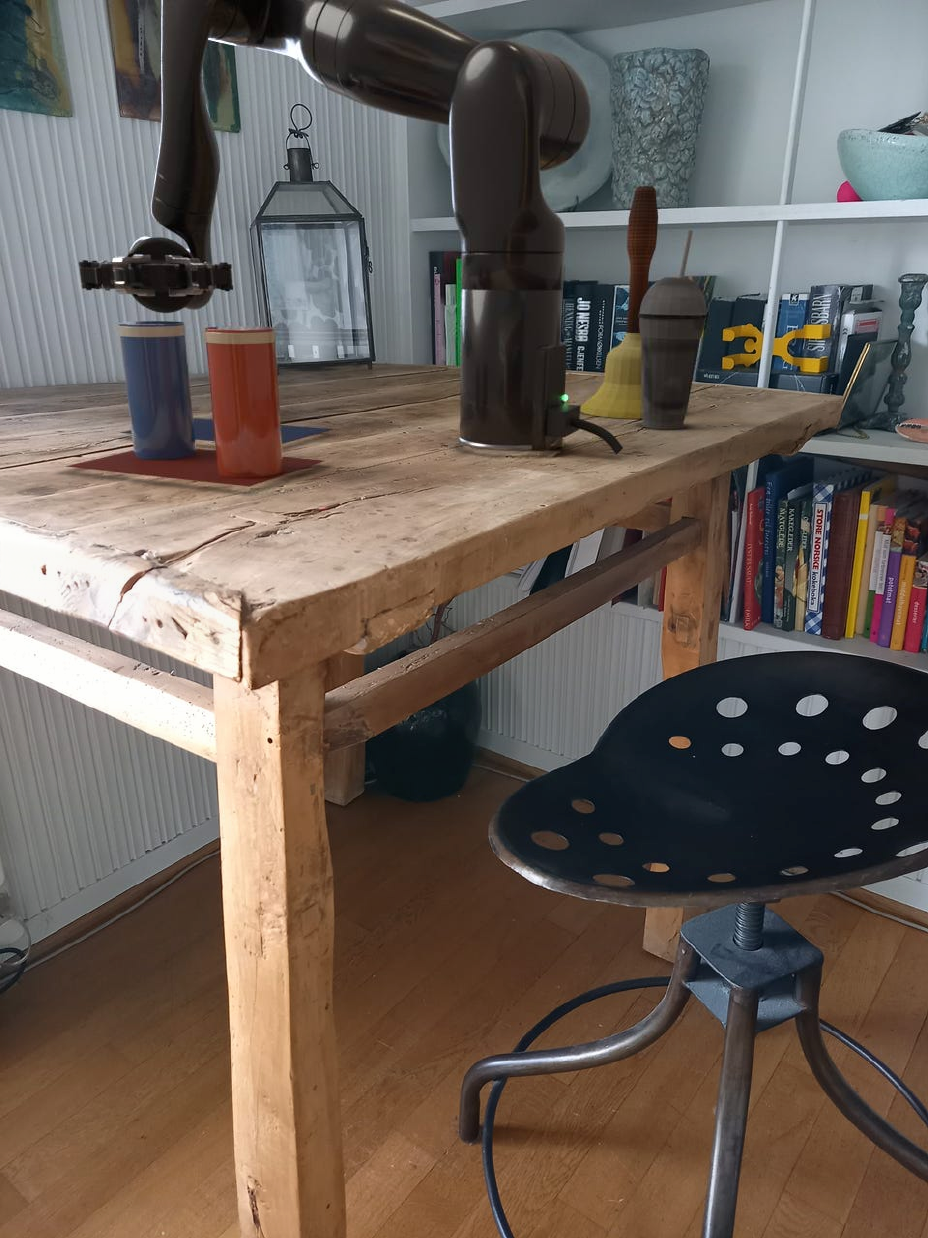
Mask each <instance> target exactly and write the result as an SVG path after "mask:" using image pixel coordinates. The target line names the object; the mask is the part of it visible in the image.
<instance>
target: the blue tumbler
mask: <svg viewBox="0 0 928 1238" xmlns="http://www.w3.org/2000/svg"><path fill="white" fill-rule="evenodd" d="M117 324H118V326H117V328H118V329H117V330H118V336H119V339H120V347H121V349H120V350H121V356H122V364H123V365H122V366H123V372H124V381H125V388H126V389H125V390H126V397H127V404H128V405H127V406H128V412H129V421H130V430H132V434H131V438H132V444H133V445H132V446H133V450H134V455H135V457H136V458H140V459H146V460H172V459H181V458H187V457H191V456H194V455H195V454H196V453H197V451H196V449H197V442H196V441H197V440H195V430H194V420H193V418H194V411H193V401H192V400H193V399H192V390H191V382H190V380H191V379H190V371H189V370H190V369H189V359H188V351H187V341H186V325H185V322H183V321H174V320H173V321H172V320H171V321H169V320H141V321H137V320H136V321H122V322H118V323H117Z"/></svg>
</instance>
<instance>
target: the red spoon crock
mask: <svg viewBox="0 0 928 1238" xmlns="http://www.w3.org/2000/svg"><path fill="white" fill-rule="evenodd" d="M203 335H204V343H205V351H206V361H207V371H208V372H207V373H208V384H209V395H210V404H211V416H212V417H211V418H212V420H213V428H214V439H215V441H214V450H215V451H216V462H217V472H218V474H219V475H222V476H225V477H232V478H259V477H267V476H273V475H277V474H280V473H282V472H283V471H284V467H283V457H284V453H283V452H284V451H283V444H282V436H281V425H282V421H281V409H280V408H281V407H280V394H279V393H280V392H279V390H280V389H279V377H278V376H279V375H278V361H277V345H276V342H277V336H276V329H275V327H272V326H258V325H257V326H255V325H254V326H253V325H250V326H249V325H248V326H247V325H245V326H244V325H242V326H240V325H239V326H238V325H237V326H236V325H235V326H234V325H233V326H232V325H230V326H209V327H205V328H204V330H203Z"/></svg>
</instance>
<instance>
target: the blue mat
mask: <svg viewBox="0 0 928 1238" xmlns="http://www.w3.org/2000/svg"><path fill="white" fill-rule="evenodd" d="M193 420H194V430H195V440H196V441H206V442H207V441H208V442H215V439H214V428H213V418H212V419H211V418H199V417H197V418H196V417H193ZM332 430H334V428H325V427H315V426H313V427H312V426H303V425H302V426H300V425H287V424H281V436H282V445H284V444H287V443H290V442H294V441H297V440H300V439H304V438H307V437H312V436H314V435H318V434H321V433H325V432H329V431H332ZM119 433H120V434H129V435H132V430H131V429H129V430H126V431H125V430H124V431H121V432H119Z"/></svg>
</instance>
